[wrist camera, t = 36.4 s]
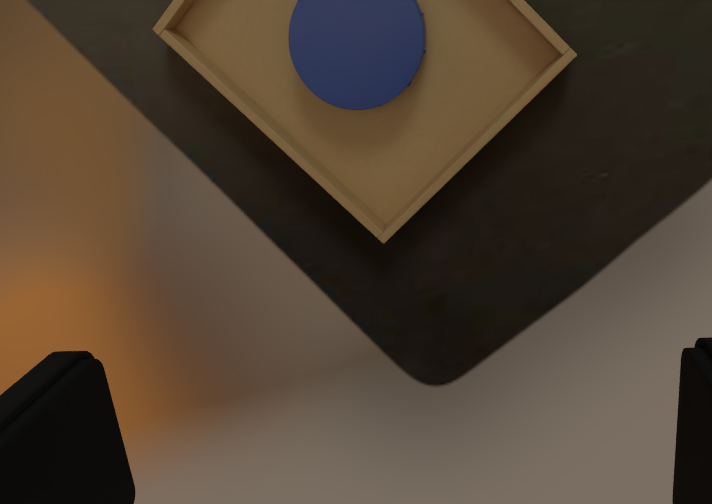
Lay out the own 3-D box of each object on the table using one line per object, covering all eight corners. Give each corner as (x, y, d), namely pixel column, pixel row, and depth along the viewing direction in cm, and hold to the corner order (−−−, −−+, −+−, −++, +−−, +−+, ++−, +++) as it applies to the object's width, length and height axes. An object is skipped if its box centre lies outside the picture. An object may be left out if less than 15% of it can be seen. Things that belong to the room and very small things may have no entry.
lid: (289, -25, 35) (279, -26, 33) (421, -40, 34) (419, -43, 32) (305, 109, 37) (297, 114, 36) (430, 99, 36) (428, 104, 34)
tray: (571, 52, 35) (577, 55, 33) (387, 233, 40) (383, 244, 38) (330, -196, 32) (321, -208, 31) (167, 28, 37) (151, 29, 36)
